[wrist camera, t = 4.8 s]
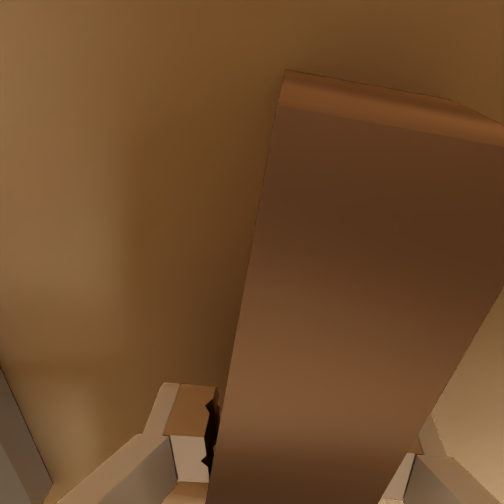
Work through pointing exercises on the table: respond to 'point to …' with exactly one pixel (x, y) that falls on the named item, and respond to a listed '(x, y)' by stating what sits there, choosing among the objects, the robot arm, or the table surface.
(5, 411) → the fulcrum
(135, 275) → the table surface
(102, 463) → the robot arm
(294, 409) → the beam
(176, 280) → the table surface
